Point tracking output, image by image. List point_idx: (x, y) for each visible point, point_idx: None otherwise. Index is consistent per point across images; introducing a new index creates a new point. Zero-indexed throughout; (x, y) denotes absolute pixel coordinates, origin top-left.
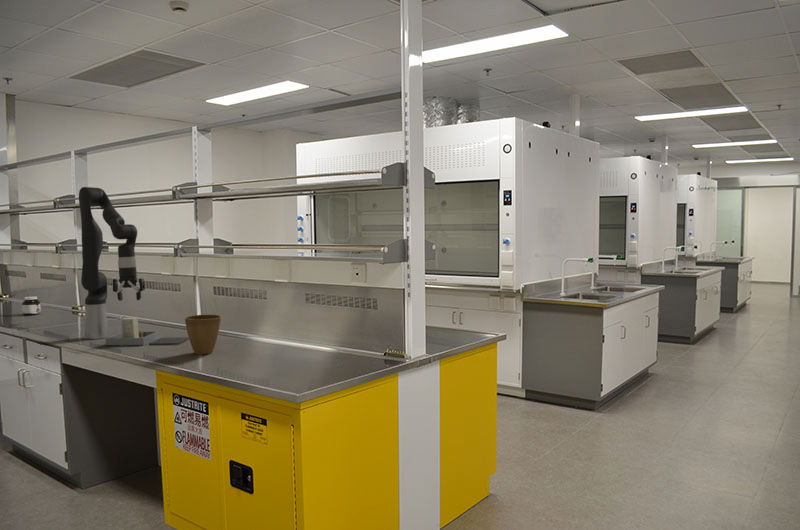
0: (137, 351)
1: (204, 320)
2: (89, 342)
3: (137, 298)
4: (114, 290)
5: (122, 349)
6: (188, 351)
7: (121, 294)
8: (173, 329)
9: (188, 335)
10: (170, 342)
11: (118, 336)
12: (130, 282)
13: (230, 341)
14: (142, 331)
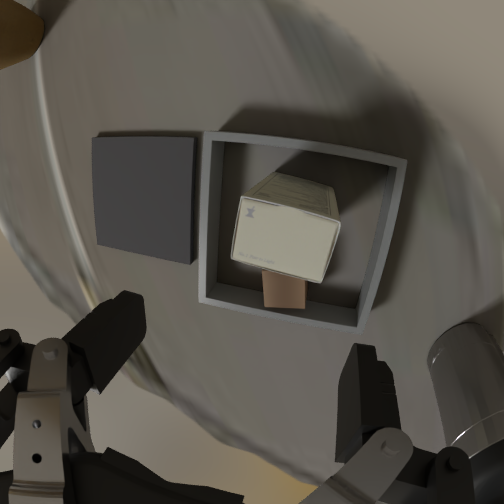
0: (202, 18)
1: None
2: (479, 264)
3: (121, 299)
4: (447, 464)
5: (285, 56)
6: (57, 44)
7: (343, 430)
8: (225, 414)
9: (12, 4)
10: (119, 150)
11: (372, 266)
12: (17, 501)
13: (13, 182)
14: (267, 300)
